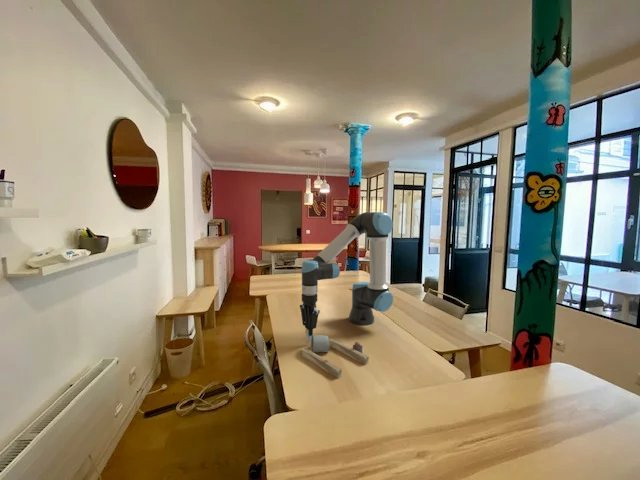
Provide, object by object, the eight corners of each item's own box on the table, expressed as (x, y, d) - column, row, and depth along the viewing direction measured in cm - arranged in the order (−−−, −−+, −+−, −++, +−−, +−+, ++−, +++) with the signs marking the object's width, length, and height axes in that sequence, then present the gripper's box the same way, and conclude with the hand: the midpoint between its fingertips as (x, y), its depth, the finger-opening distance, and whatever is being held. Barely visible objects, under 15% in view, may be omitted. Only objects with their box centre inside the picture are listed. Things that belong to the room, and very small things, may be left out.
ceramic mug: (330, 354, 128) (330, 337, 128) (312, 355, 127) (312, 338, 126) (326, 344, 139) (326, 329, 138) (309, 345, 137) (310, 330, 137)
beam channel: (337, 342, 141) (337, 331, 140) (374, 360, 123) (374, 348, 123) (301, 355, 127) (302, 344, 126) (337, 378, 109) (338, 365, 109)
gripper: (295, 291, 138) (294, 338, 140) (311, 297, 128) (311, 348, 130) (307, 289, 142) (307, 334, 144) (324, 295, 132) (323, 343, 134)
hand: (309, 341), depth 137 cm, fingers closed
